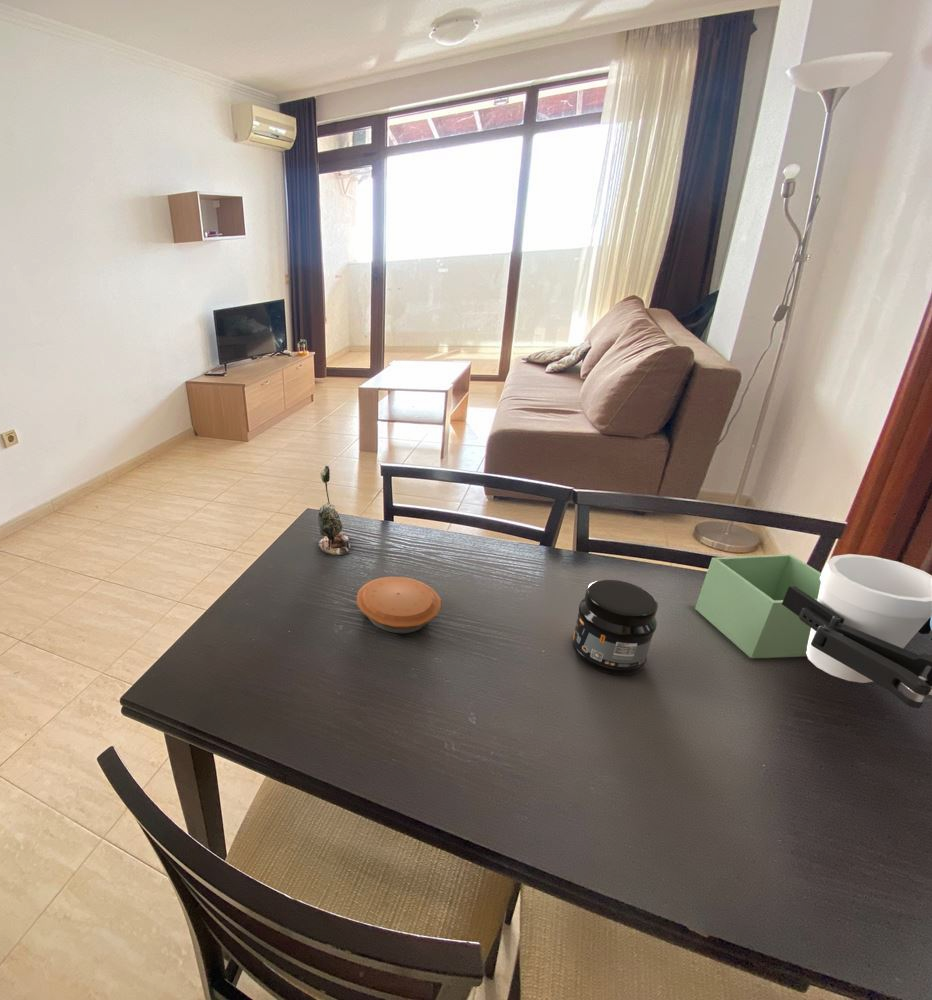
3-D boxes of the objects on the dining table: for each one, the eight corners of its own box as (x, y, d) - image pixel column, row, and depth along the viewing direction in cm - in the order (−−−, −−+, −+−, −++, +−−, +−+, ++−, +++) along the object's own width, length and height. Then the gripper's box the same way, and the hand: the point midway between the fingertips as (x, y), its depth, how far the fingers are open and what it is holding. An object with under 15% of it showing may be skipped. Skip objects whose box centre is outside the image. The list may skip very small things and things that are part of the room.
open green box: (769, 605, 97) (790, 553, 93) (836, 655, 86) (863, 599, 81) (694, 608, 98) (711, 557, 93) (750, 658, 86) (773, 602, 82)
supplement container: (597, 627, 96) (611, 570, 90) (659, 663, 87) (678, 602, 82) (556, 647, 92) (568, 589, 87) (616, 687, 83) (633, 625, 78)
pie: (369, 585, 112) (369, 564, 110) (446, 600, 106) (447, 579, 104) (346, 630, 100) (345, 608, 98) (431, 650, 93) (433, 627, 91)
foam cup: (807, 629, 72) (845, 546, 66) (908, 669, 65) (959, 579, 59) (777, 658, 68) (814, 572, 62) (880, 705, 61) (933, 612, 55)
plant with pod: (308, 557, 124) (304, 477, 115) (325, 534, 133) (323, 459, 124) (342, 563, 121) (340, 482, 112) (357, 539, 130) (357, 462, 121)
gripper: (913, 776, 49) (729, 621, 69) (1176, 769, 48) (911, 613, 68) (952, 717, 46) (747, 572, 66) (1235, 708, 45) (938, 562, 65)
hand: (830, 593), depth 67 cm, fingers closed on foam cup, 9 cm apart
